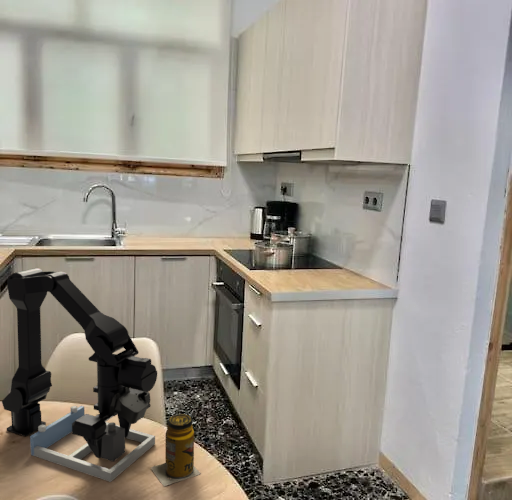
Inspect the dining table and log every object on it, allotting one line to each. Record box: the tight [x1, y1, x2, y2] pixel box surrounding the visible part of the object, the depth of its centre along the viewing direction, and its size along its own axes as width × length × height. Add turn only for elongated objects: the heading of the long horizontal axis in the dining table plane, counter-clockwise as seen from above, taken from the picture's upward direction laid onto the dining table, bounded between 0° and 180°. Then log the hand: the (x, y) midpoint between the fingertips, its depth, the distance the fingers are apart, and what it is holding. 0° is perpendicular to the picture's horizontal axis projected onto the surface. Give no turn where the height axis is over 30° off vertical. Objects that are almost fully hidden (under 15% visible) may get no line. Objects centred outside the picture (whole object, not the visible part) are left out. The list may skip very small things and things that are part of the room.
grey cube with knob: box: [99, 421, 126, 462], centre depth 113 cm, size 4×4×8 cm
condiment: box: [150, 413, 201, 487], centre depth 108 cm, size 7×8×12 cm
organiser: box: [29, 405, 156, 483], centre depth 115 cm, size 22×16×6 cm
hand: (112, 446), depth 114 cm, fingers open, 9 cm apart
